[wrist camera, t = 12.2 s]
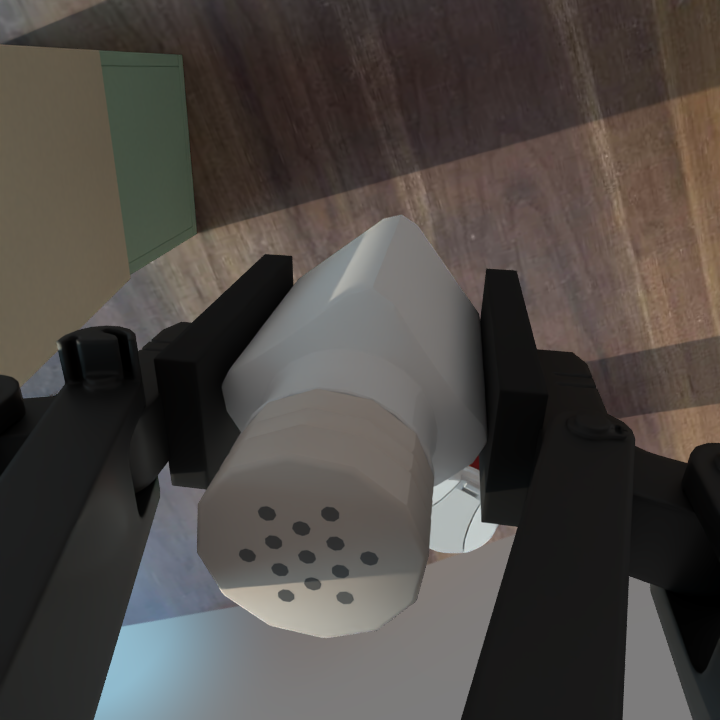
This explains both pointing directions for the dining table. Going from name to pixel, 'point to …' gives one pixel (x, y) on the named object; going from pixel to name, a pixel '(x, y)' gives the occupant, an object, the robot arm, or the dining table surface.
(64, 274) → the cover
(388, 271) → the pepper shaker
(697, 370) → the dining table surface
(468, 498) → the paper cup
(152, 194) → the case
